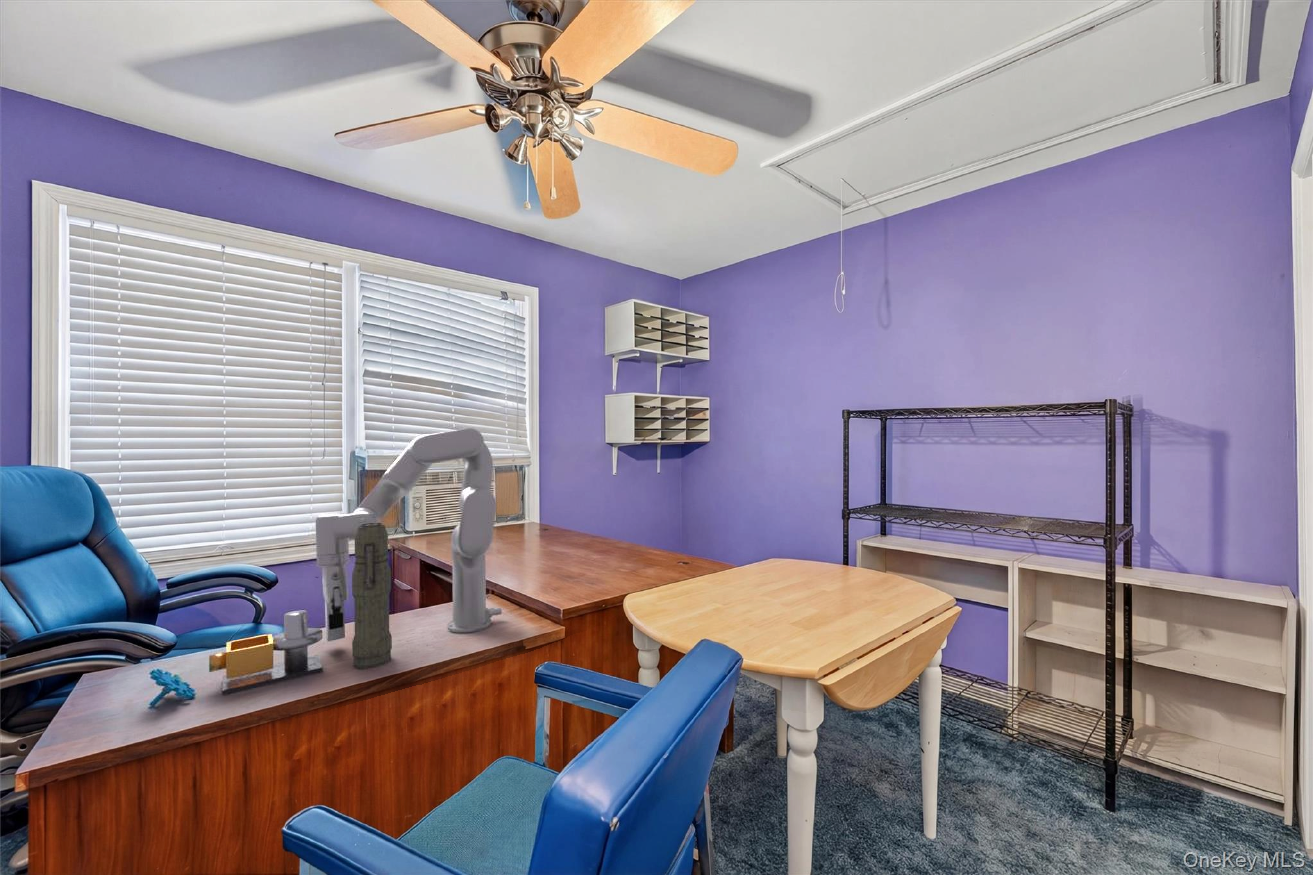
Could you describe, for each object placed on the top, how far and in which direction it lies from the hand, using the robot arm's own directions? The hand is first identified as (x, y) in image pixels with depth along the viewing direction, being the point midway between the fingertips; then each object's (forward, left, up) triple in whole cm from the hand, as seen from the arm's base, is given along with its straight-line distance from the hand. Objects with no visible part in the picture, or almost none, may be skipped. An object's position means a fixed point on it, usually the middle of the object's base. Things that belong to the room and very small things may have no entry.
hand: (335, 625), depth 144 cm
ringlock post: (+15, +10, -6) cm, 19 cm away
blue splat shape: (+32, +11, -7) cm, 34 cm away
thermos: (-6, +16, -7) cm, 18 cm away
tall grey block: (0, 0, -3) cm, 3 cm away
